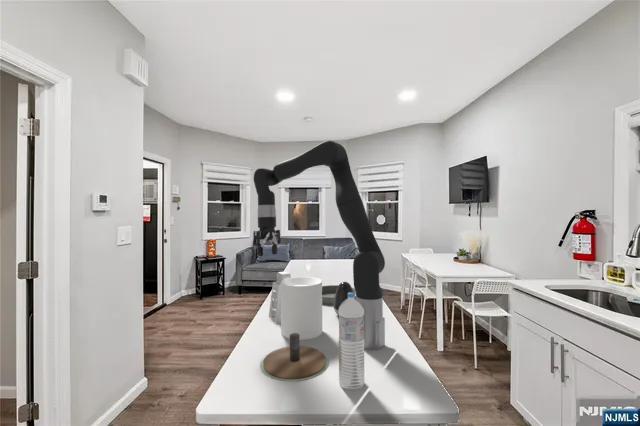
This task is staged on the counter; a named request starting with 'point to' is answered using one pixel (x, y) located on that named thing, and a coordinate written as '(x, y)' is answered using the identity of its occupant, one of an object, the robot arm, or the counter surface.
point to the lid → (294, 361)
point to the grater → (277, 297)
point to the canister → (301, 307)
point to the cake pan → (330, 293)
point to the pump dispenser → (341, 295)
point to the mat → (294, 379)
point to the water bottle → (351, 344)
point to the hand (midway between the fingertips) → (267, 255)
